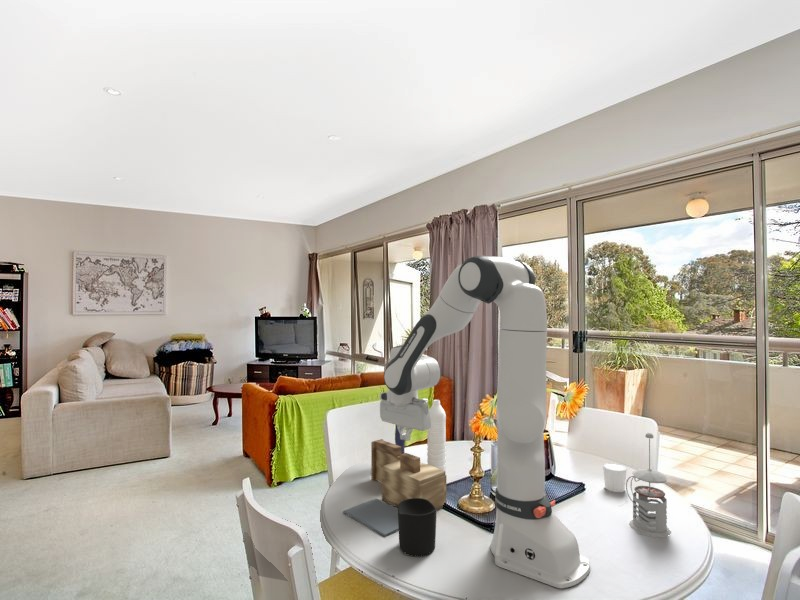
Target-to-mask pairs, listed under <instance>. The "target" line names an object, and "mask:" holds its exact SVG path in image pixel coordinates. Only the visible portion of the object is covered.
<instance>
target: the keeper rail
mask: <svg viewBox="0 0 800 600" xmlns="http://www.w3.org/2000/svg"><path fill="white" fill-rule="evenodd" d="M379 440H383V441H384V439H382V438H381V439H377V440H374V441H371V442H370V443H371V456H370V457H371V465H370V466H371V471H370V472H371V481H373V482H375V481H378V482H379V483H382V470H383V466H384V465H388V464H391V463H394V462H397V461H400V455H398V456H394V455H391V454H388V453H386V452H383V451H380V450H378V449H376V441H379Z"/></svg>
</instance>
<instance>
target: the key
mask: <svg viewBox="0 0 800 600" xmlns="http://www.w3.org/2000/svg"><path fill="white" fill-rule="evenodd" d="M378 440H379V441H376V440H375V441H376V449H378V450H380V451H383V452H386V453H388V454H391V455H394V456H398V455H400V454H401V446H398V445H396V444H394V443H392V442H390V441H386V440H384V439H383V440H380V439H378Z"/></svg>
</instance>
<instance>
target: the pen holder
mask: <svg viewBox="0 0 800 600" xmlns="http://www.w3.org/2000/svg"><path fill="white" fill-rule="evenodd" d="M397 509H398V528H399V531H398V544H399V549H400V550H401V552H402V553H403V554H405V555H407V556H409V557H417V558H418V557H419V558H420V557H426V556H429V555H430V554H431V553H433V551H435V547H436V538H437V537H436V535H437V514H438V513H437V512H438V510H437V508H435V507H434V505H433V504H432V503H431V502H430V501H428V500H426V499H423V498H410V499H406V500H403V501H401V502H400V503H399V505H398V507H397Z"/></svg>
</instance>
